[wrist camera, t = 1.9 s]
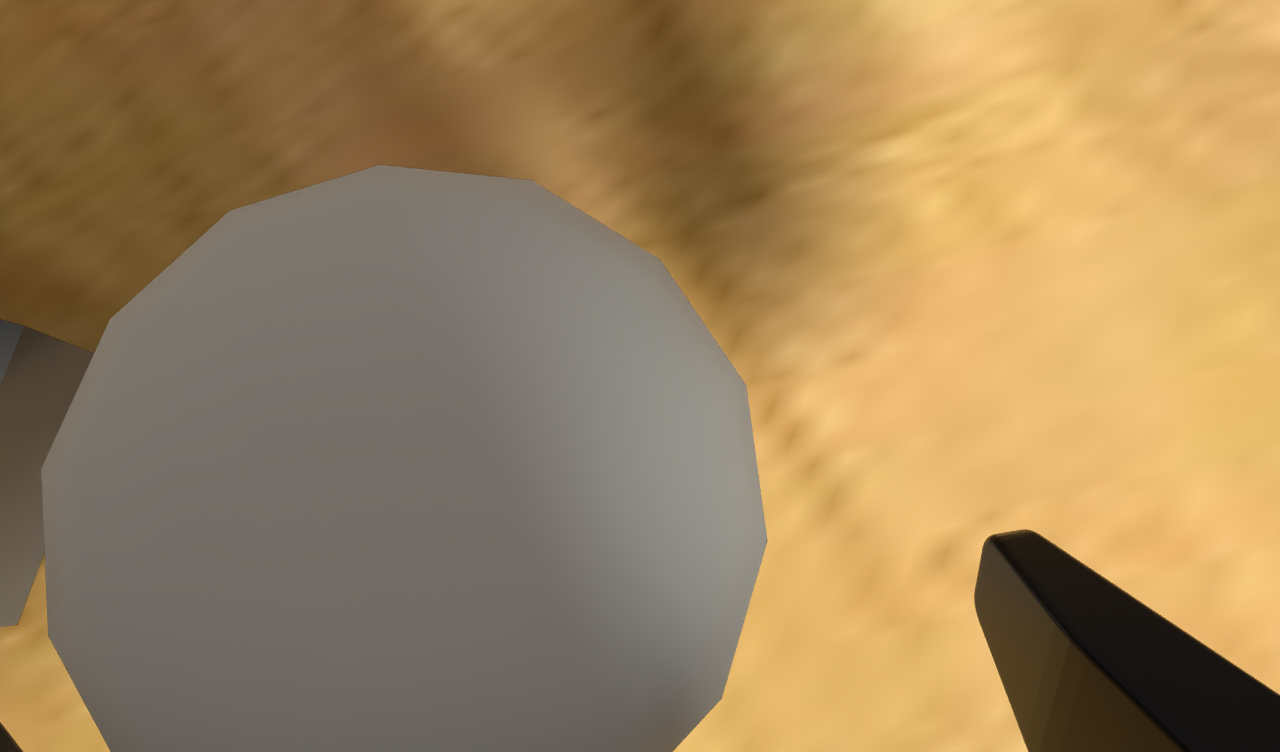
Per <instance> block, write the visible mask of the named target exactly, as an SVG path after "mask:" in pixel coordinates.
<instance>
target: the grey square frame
mask: <svg viewBox="0 0 1280 752" xmlns="http://www.w3.org/2000/svg"><path fill="white" fill-rule="evenodd" d="M93 355H94V353H92V352H89V351H87V350H84V349H82V348H79V347H76V346H74V345H71V344H69V343H66V342H64V341H61V340H59V339H56V338H54V337H51V336H49V335H46V334H43V333H41V332H38V331H36V330H33V329H31V328H28V327H26V326H23V325H19V324H16V323H12V322H8V321H5V320H1V319H0V627H5V626H12V625H17V624H18V621H19V619H20V616H21V613H22V611H23V608H24V605H25V603H26V600H27V597H28V595H29V592H30V589H31V587H32V584H33V581H34V579H35V576H36V573H37V571H38V568H39V565H40V563H41V560H42V557H43V555H44V552H45V548H44V525H43V501H42V478H41V468H42V466H43V464H44V462H45V460H46V457H47V455H48V453H49V451H50V449H51V446H52V444H53V442H54V440H55V438H56V436H57V433H58V431H59V429H60V427H61V425H62V423H63V420H64V418H65V416H66V414H67V412H68V409H69V407H70V405H71V403H72V401H73V399H74V396H75V394H76V392H77V390H78V388H79V386H80V383H81V381H82V379H83V377H84V375H85V372H86V370H87V368H88V366H89V364H90V362H91V359H92V357H93Z"/></svg>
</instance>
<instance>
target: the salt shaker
mask: <svg viewBox="0 0 1280 752" xmlns="http://www.w3.org/2000/svg"><path fill="white" fill-rule="evenodd" d="M41 478H42V501H43V525H44V548H45V571H46V595H47V618H48V636H49V638H50V640H51V642H52V644H53V645H54V647H55V649H56V651H57V653H58V655H59V657H60V658H61V660H62V662H63V664H64V666H65V668H66V670H67V671H68V673H69V675H70V677H71V679H72V681H73V683H74V684H75V686H76V688H77V690H78V692H79V694H80V696H81V697H82V699H83V701H84V703H85V705H86V707H87V709H88V710H89V712H90V714H91V716H92V718H93V720H94V722H95V723H96V725H97V727H98V729H99V731H100V733H101V735H102V736H103V738H104V740H105V742H106V744H107V746H108V748H109V749H110V751H111V752H673V751H674V749H675V748H676V747H677V746H678V745H679V744H680V743H681V742H682V741H683V740H684V739H685V738H686V737H687V735H688V734H689V733H690V732H691V731H692V730H693V729H694V728H695V727H696V726H697V725H698V724H699V722H700V721H701V720H702V719H703V718H704V717H705V716H706V715H707V714H708V713H709V712H710V711H711V710H712V708H713V707H714V706H715V705H716V704H717V703H718V702H719V701H720V700H721V699H722V695H723V692H724V689H725V685H726V682H727V678H728V675H729V671H730V668H731V664H732V661H733V658H734V654H735V651H736V647H737V644H738V640H739V637H740V633H741V630H742V627H743V623H744V620H745V616H746V613H747V609H748V606H749V602H750V599H751V595H752V592H753V589H754V585H755V582H756V578H757V575H758V571H759V568H760V564H761V561H762V558H763V554H764V551H765V547H766V544H767V534H766V527H765V520H764V512H763V505H762V498H761V490H760V483H759V476H758V468H757V461H756V453H755V446H754V439H753V431H752V424H751V417H750V409H749V402H748V395H747V387H746V384H745V383H744V381H743V380H742V378H741V377H740V375H739V374H738V372H737V371H736V369H735V368H734V367H733V365H732V364H731V362H730V361H729V359H728V358H727V356H726V355H725V353H724V352H723V350H722V349H721V348H720V346H719V345H718V343H717V342H716V340H715V339H714V337H713V336H712V334H711V333H710V332H709V330H708V329H707V327H706V326H705V324H704V323H703V321H702V320H701V318H700V317H699V315H698V314H697V313H696V311H695V310H694V308H693V307H692V305H691V304H690V302H689V301H688V299H687V298H686V297H685V295H684V294H683V292H682V291H681V289H680V288H679V286H678V285H677V283H676V282H675V280H674V279H673V278H672V276H671V275H670V273H669V272H668V270H667V269H666V267H665V266H664V264H663V263H662V262H661V260H660V259H659V258H657V257H655V256H654V255H652V254H650V253H649V252H647V251H646V250H644V249H642V248H641V247H639V246H637V245H636V244H634V243H633V242H631V241H629V240H628V239H626V238H625V237H623V236H621V235H620V234H618V233H616V232H615V231H613V230H612V229H610V228H608V227H607V226H605V225H604V224H602V223H600V222H599V221H597V220H595V219H594V218H592V217H591V216H589V215H587V214H586V213H584V212H582V211H581V210H579V209H578V208H576V207H574V206H573V205H571V204H570V203H568V202H566V201H565V200H563V199H561V198H560V197H558V196H557V195H555V194H553V193H552V192H550V191H549V190H547V189H545V188H544V187H542V186H540V185H539V184H537V183H536V182H534V181H532V180H525V179H515V178H505V177H495V176H485V175H475V174H466V173H456V172H446V171H436V170H426V169H416V168H406V167H397V166H387V165H378V166H374V167H371V168H368V169H364V170H361V171H358V172H355V173H351V174H348V175H345V176H342V177H338V178H335V179H332V180H328V181H325V182H322V183H319V184H315V185H312V186H309V187H306V188H302V189H299V190H296V191H292V192H289V193H286V194H283V195H279V196H276V197H273V198H270V199H266V200H263V201H260V202H256V203H253V204H250V205H247V206H243V207H240V208H237V209H234V210H230V211H229V212H228V213H227V214H225V215H224V216H223V217H222V218H221V219H220V220H219V221H218V222H217V223H216V224H214V225H213V226H212V227H211V228H210V229H209V230H208V231H207V232H206V233H204V234H203V235H202V236H201V237H200V238H199V239H198V240H197V241H196V242H195V243H193V244H192V245H191V246H190V247H189V248H188V249H187V250H186V251H185V252H184V253H182V254H181V255H180V256H179V257H178V258H177V259H176V260H175V261H174V262H172V263H171V264H170V265H169V266H168V267H167V268H166V269H165V270H164V271H163V272H161V273H160V274H159V275H158V276H157V277H156V278H155V279H154V280H153V281H151V282H150V283H149V284H148V285H147V286H146V287H145V288H144V289H143V290H142V291H140V292H139V293H138V294H137V295H136V296H135V297H134V298H133V299H132V300H130V301H129V302H128V303H127V304H126V305H125V306H124V307H123V308H122V309H121V310H119V311H118V312H117V313H116V314H115V315H114V316H113V317H112V318H111V319H110V320H109V322H108V325H107V327H106V329H105V331H104V333H103V335H102V338H101V340H100V342H99V344H98V346H97V349H96V351H95V353H94V355H93V357H92V359H91V362H90V364H89V366H88V368H87V370H86V372H85V375H84V377H83V379H82V381H81V383H80V386H79V388H78V390H77V392H76V394H75V396H74V399H73V401H72V403H71V405H70V407H69V409H68V412H67V414H66V416H65V418H64V420H63V423H62V425H61V427H60V429H59V431H58V433H57V436H56V438H55V440H54V442H53V444H52V446H51V449H50V451H49V453H48V455H47V457H46V460H45V462H44V464H43V466H42V468H41Z"/></svg>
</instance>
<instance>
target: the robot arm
mask: <svg viewBox="0 0 1280 752" xmlns="http://www.w3.org/2000/svg"><path fill="white" fill-rule="evenodd" d="M974 599H975V608H976V612H977V616H978V619H979V622H980V625H981V627H982V630H983V633H984V635H985V638H986V641H987V643H988V646H989V649H990V651H991V654H992V657H993V659H994V662H995V665H996V667H997V670H998V673H999V675H1000V678H1001V681H1002V683H1003V686H1004V689H1005V691H1006V694H1007V696H1008V699H1009V702H1010V704H1011V707H1012V710H1013V712H1014V715H1015V718H1016V720H1017V723H1018V726H1019V728H1020V731H1021V734H1022V736H1023V739H1024V742H1025V744H1026V747H1027V749H1028V751H1029V752H1280V695H1279V694H1278V693H1276V692H1275V691H1273V690H1272V689H1270V688H1269V687H1267V686H1266V685H1264V684H1263V683H1261V682H1260V681H1258V680H1257V679H1255V678H1254V677H1252V676H1251V675H1249V674H1248V673H1246V672H1245V671H1243V670H1242V669H1240V668H1239V667H1237V666H1236V665H1234V664H1233V663H1231V662H1230V661H1228V660H1227V659H1225V658H1224V657H1222V656H1221V655H1219V654H1218V653H1216V652H1215V651H1213V650H1212V649H1210V648H1209V647H1207V646H1206V645H1204V644H1203V643H1201V642H1200V641H1198V640H1197V639H1195V638H1194V637H1192V636H1191V635H1189V634H1188V633H1186V632H1185V631H1183V630H1182V629H1180V628H1179V627H1177V626H1176V625H1174V624H1173V623H1171V622H1170V621H1168V620H1167V619H1165V618H1164V617H1162V616H1161V615H1159V614H1158V613H1156V612H1155V611H1153V610H1152V609H1150V608H1149V607H1147V606H1146V605H1144V604H1143V603H1141V602H1140V601H1138V600H1137V599H1135V598H1134V597H1132V596H1131V595H1129V594H1128V593H1126V592H1125V591H1123V590H1122V589H1121V588H1119V587H1118V586H1116V585H1115V584H1113V583H1112V582H1110V581H1109V580H1107V579H1106V578H1104V577H1103V576H1101V575H1100V574H1098V573H1097V572H1095V571H1094V570H1092V569H1091V568H1089V567H1088V566H1086V565H1085V564H1083V563H1082V562H1080V561H1079V560H1077V559H1076V558H1074V557H1073V556H1071V555H1070V554H1068V553H1067V552H1065V551H1064V550H1062V549H1061V548H1059V547H1058V546H1056V545H1055V544H1053V543H1052V542H1050V541H1049V540H1047V539H1046V538H1044V537H1043V536H1041V535H1040V534H1038V533H1036V532H1033V531H1031V530H1017V531H1011V532H1005V533H999V534H994V535H991V536H989V537H988V538H987V539H986V541H985V542H984V545H983V549H982V554H981V560H980V565H979V571H978V576H977V582H976V587H975V594H974ZM0 752H23V751H22V749H21V748H20V747H19V746H18V744H17V743H16V742H15V740H14V739H13V738H12V737H11V735H10V734H9V733H8V731H7V730H6V729H5V727H4V726H3V725H2V724H1V722H0Z"/></svg>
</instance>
